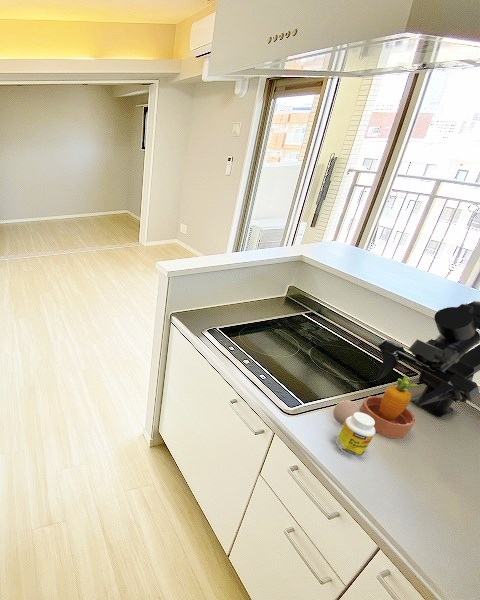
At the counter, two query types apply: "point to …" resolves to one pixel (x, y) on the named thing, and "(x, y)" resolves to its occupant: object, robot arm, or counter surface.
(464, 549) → the counter surface
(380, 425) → the bowl
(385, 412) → the carrot
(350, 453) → the supplement bottle
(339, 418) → the egg
